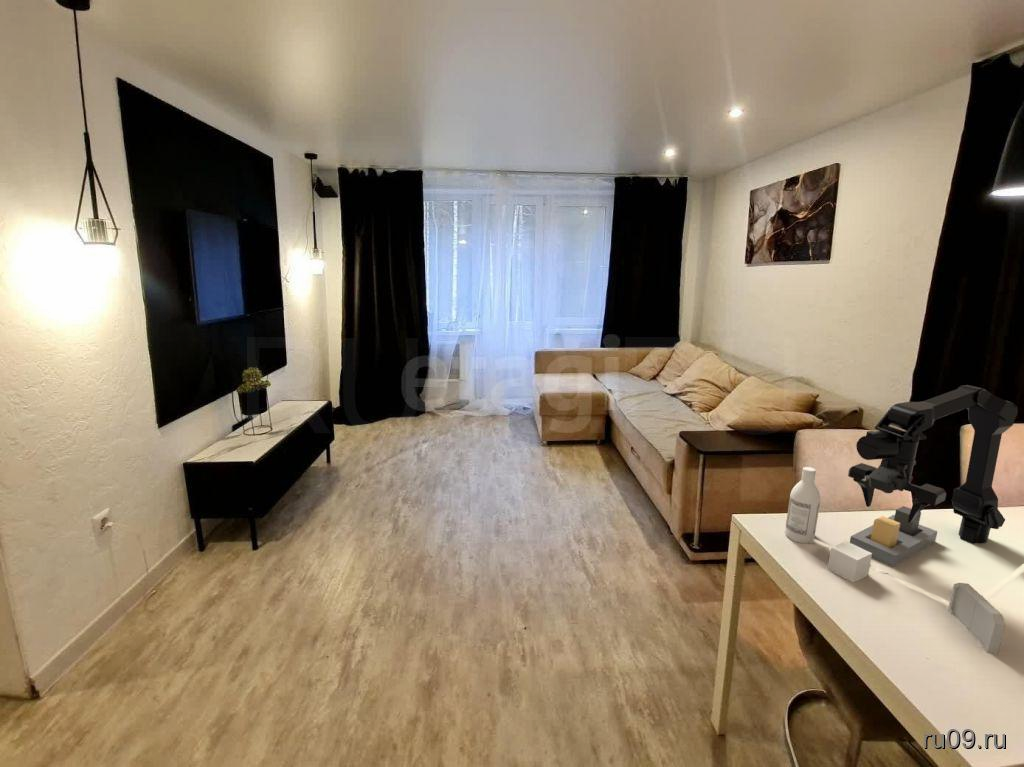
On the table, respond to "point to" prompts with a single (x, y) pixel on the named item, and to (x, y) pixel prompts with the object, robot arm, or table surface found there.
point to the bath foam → (803, 508)
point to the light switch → (977, 616)
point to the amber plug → (885, 531)
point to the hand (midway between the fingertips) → (888, 514)
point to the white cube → (849, 561)
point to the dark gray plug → (906, 521)
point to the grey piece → (903, 547)
